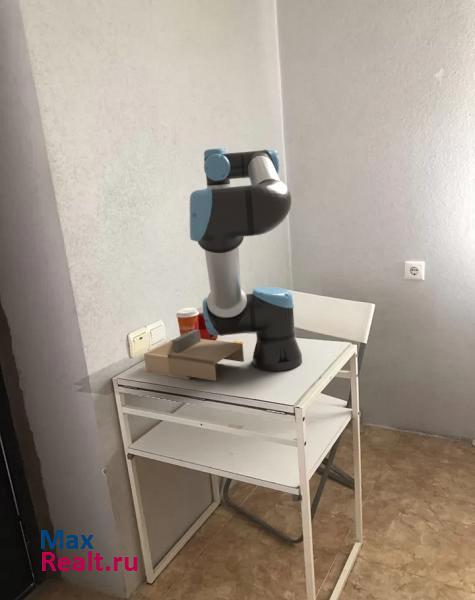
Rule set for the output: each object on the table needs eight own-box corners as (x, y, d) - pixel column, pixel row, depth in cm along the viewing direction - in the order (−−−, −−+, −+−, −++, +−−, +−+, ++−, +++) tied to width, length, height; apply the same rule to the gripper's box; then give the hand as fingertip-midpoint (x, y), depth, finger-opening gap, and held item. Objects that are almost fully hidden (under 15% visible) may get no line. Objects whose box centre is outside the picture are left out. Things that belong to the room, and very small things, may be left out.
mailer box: (214, 362, 162) (212, 344, 161) (187, 379, 151) (185, 359, 149) (174, 356, 171) (172, 339, 169) (146, 371, 159) (143, 353, 158)
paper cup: (176, 352, 174) (171, 313, 171) (186, 345, 181) (182, 307, 178) (196, 354, 171) (192, 314, 168) (206, 346, 178) (202, 307, 175)
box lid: (243, 361, 157) (241, 331, 155) (215, 380, 144) (211, 348, 142) (200, 355, 166) (197, 327, 163) (169, 372, 153) (166, 342, 151)
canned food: (215, 342, 182) (212, 312, 179) (193, 342, 183) (190, 313, 181) (220, 335, 189) (217, 306, 186) (199, 335, 191) (196, 307, 188)
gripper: (196, 200, 165) (203, 272, 171) (231, 198, 159) (237, 273, 165) (209, 198, 172) (215, 267, 177) (243, 196, 165) (248, 268, 171)
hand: (226, 270), depth 171 cm, fingers closed
